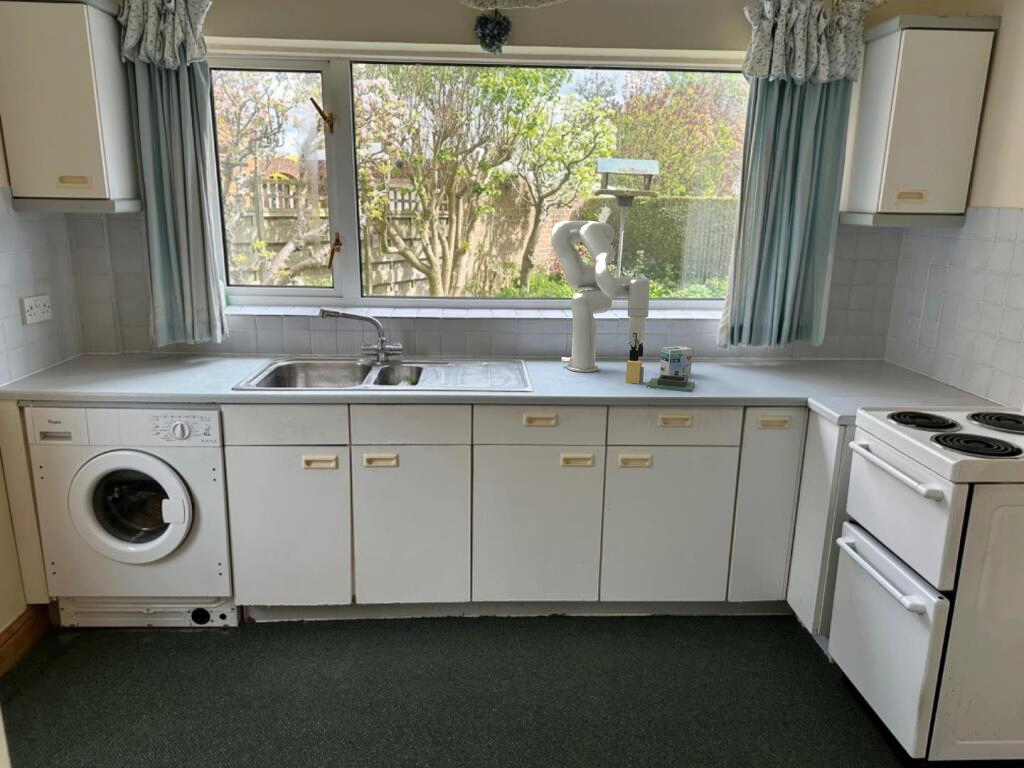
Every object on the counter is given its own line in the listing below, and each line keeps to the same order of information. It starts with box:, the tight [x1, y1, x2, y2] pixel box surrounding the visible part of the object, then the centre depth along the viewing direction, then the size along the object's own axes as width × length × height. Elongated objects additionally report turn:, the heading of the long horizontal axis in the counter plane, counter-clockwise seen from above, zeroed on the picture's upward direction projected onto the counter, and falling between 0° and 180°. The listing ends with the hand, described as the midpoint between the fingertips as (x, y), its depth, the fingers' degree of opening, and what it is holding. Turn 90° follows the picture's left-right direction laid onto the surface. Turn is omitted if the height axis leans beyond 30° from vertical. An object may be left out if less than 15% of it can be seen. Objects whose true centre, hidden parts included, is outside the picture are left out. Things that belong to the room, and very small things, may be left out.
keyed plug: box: [625, 359, 645, 385], centre depth 273 cm, size 6×4×8 cm, turn 70°
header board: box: [646, 374, 696, 393], centre depth 269 cm, size 16×12×3 cm
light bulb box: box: [659, 345, 694, 377], centre depth 287 cm, size 11×7×11 cm, turn 112°
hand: (636, 358), depth 271 cm, fingers open, 9 cm apart
